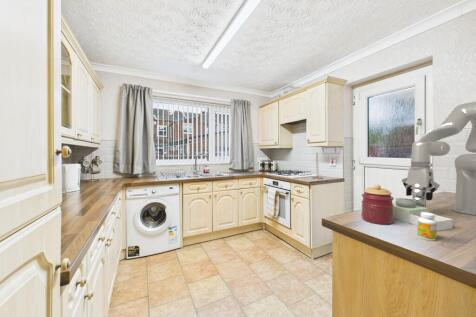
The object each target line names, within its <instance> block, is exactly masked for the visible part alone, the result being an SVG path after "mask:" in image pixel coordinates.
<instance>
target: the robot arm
mask: <svg viewBox="0 0 476 317" xmlns="http://www.w3.org/2000/svg"><path fill="white" fill-rule="evenodd" d="M469 122H470V124H471V130H470V132H469V134H468V137H467V140H466V142H465V150H466V151H467V152H469V153H463V154H460V155H458V156H456V158H454V169H455V173H456V178H455V179H456V180H455V181H456V182H455V198H454V200H455V203H454V204H455V205H454V206H451V207H450V209H451V211H454V212H457V213H460V214H466V215H474V216H476V101H472V102H466V103H463V104H462V103H461V104H459V105H457V106H455V107H454V108H453V110H452V111H451V112H450V113H449V114H448V116H447V117H446V118H445V120H444V121H443V122H442V123H441V124H440V125H438V126H436V127H434V128H432V129H431V130H429V131H427V132H426V133H424V134H423V135H422V137H420V139H419V140H418V141H414V142H412V145H411V158H410V167H409V169H408V172H407V177H405V178H402V179H401V182H402V184H403V186H404V188H405V196H406V197H411V196H412V188H411V186H412V185H413V184H418V185H419V186H420V187H422V188H425V189H426V190H427V192H426V201H432V200H433V196H434V193H435V192H436V191H438V188H439V187H440V186H441V184H439V183H437V182H435V181H434V171H433V168H431V167H433V166H434V165H433V163H431V156H432V157H442V156H446V155H447V154H448V153H450V150H451V146H450V144H449V143H447V142H445V141H440V140H443V139H446V138H449V137H453V136H454V135H458V134H459V133H461V132H462V131H463V129H465V127H466V126H467V124H469Z"/></svg>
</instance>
